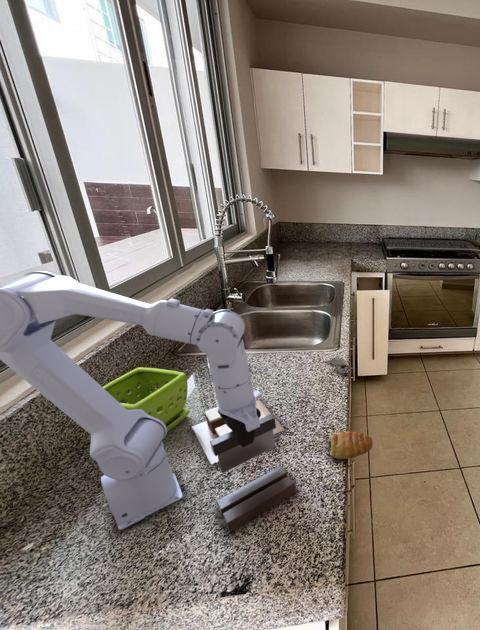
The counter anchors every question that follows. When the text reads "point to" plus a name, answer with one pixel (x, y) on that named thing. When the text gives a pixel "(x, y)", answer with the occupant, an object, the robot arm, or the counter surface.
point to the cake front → (225, 429)
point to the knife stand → (255, 498)
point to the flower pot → (153, 393)
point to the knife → (236, 454)
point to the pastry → (349, 444)
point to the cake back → (214, 419)
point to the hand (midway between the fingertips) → (245, 441)
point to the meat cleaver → (338, 365)
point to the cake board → (206, 435)
